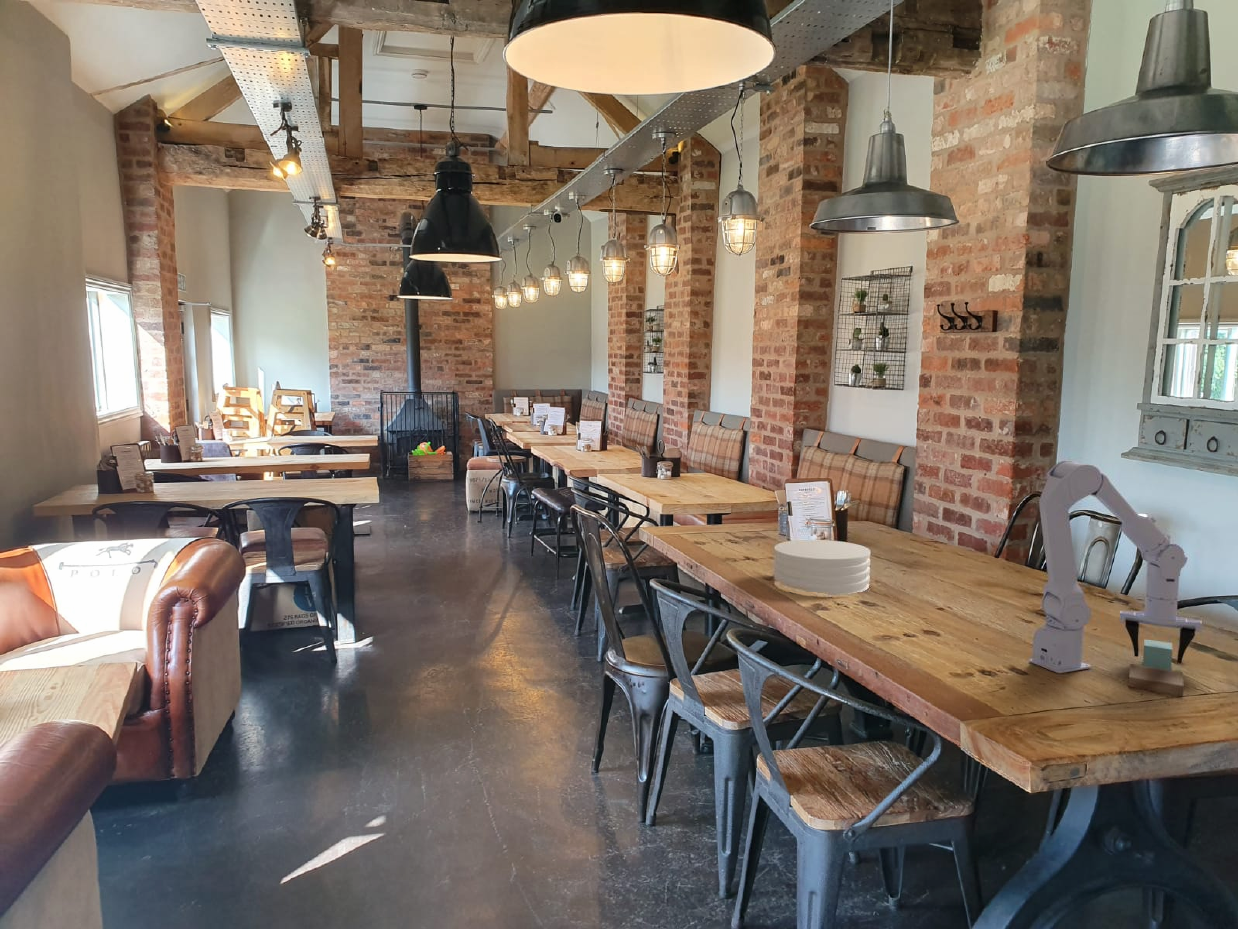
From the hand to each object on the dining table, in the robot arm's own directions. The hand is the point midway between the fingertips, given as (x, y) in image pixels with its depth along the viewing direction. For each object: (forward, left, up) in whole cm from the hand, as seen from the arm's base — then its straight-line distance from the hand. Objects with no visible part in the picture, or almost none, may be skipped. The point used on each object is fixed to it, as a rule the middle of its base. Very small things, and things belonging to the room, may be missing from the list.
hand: (1157, 658), depth 174 cm
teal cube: (0, 0, -2) cm, 2 cm away
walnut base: (-10, -7, -2) cm, 12 cm away
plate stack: (-27, +85, -2) cm, 89 cm away
